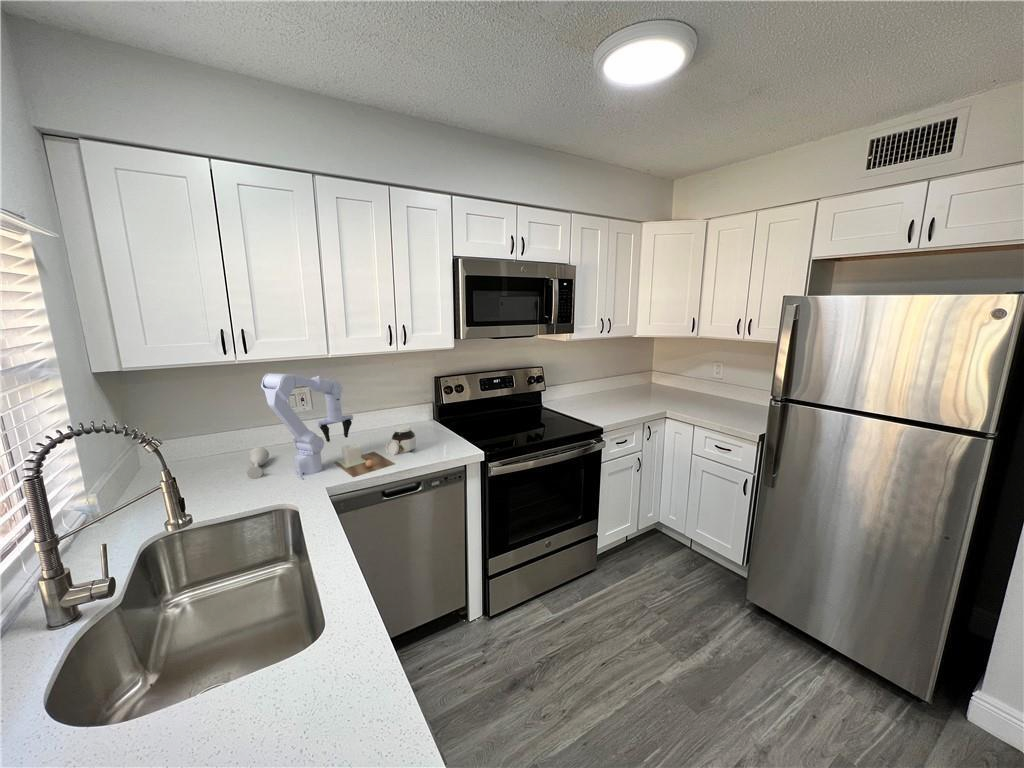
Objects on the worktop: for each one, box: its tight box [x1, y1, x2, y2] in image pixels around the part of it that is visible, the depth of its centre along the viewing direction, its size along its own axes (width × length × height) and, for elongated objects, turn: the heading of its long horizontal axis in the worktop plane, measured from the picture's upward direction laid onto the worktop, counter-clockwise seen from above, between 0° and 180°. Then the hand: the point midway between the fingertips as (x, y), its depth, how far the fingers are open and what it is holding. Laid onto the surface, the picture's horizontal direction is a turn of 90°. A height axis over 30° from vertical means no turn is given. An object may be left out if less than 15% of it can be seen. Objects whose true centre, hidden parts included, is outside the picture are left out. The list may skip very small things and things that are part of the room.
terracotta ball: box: [366, 460, 373, 467], centre depth 169 cm, size 3×3×3 cm
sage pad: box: [336, 458, 366, 468], centre depth 175 cm, size 9×9×1 cm
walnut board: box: [333, 451, 396, 478], centre depth 173 cm, size 18×20×1 cm
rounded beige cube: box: [341, 443, 362, 465], centre depth 174 cm, size 6×6×6 cm
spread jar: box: [385, 424, 417, 456], centre depth 186 cm, size 12×11×12 cm
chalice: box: [246, 446, 270, 480], centre depth 170 cm, size 7×7×18 cm
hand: (337, 439), depth 178 cm, fingers open, 7 cm apart
